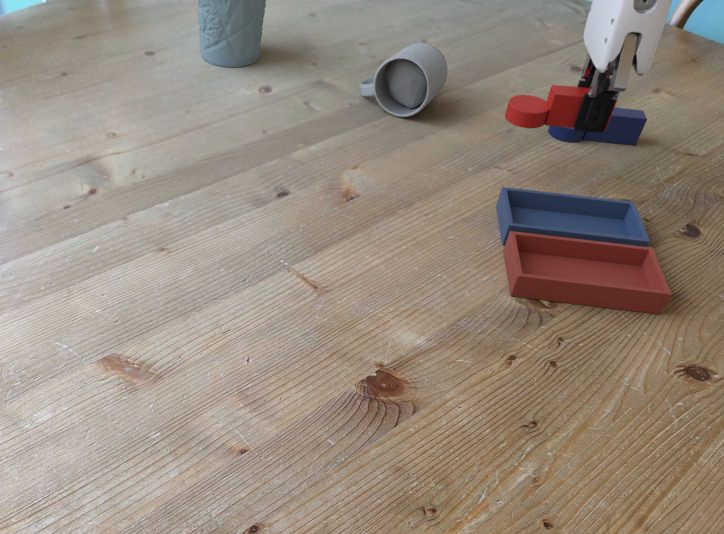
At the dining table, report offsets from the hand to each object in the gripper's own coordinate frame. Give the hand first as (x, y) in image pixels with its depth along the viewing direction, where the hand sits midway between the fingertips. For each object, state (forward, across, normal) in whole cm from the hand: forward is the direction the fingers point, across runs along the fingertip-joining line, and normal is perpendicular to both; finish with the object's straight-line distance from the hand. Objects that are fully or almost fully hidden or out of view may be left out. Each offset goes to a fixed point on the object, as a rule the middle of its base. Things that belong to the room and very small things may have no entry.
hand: (586, 122), depth 82 cm
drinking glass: (+6, +25, +44) cm, 51 cm away
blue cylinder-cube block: (+7, +12, -5) cm, 15 cm away
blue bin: (+7, -11, +2) cm, 13 cm away
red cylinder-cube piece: (0, 0, +3) cm, 3 cm away
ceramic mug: (+7, +15, +20) cm, 26 cm away
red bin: (+7, -19, +2) cm, 21 cm away
